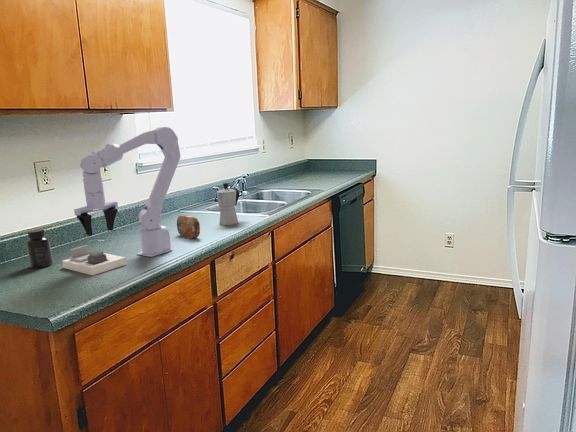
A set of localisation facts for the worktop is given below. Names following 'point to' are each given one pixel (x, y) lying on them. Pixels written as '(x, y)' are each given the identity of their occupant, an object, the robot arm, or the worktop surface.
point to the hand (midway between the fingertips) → (100, 232)
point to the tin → (188, 226)
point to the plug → (96, 257)
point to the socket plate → (91, 269)
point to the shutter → (80, 253)
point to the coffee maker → (228, 205)
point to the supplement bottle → (39, 249)
